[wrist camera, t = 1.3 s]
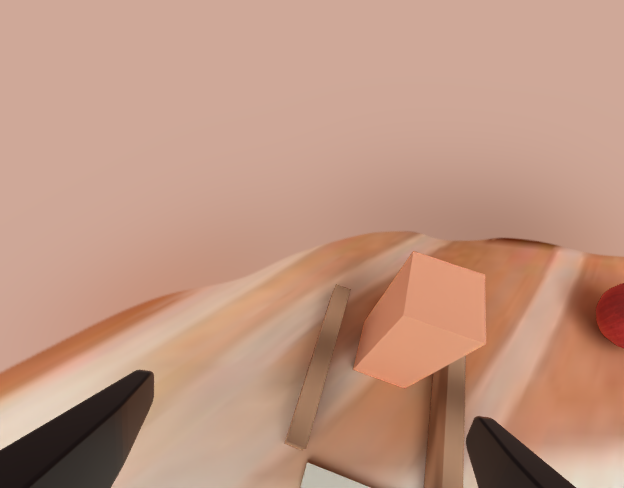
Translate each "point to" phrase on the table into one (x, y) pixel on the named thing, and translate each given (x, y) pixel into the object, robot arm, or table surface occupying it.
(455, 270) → the block
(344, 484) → the pad
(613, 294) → the onion
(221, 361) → the table surface
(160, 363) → the table surface
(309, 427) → the channel
